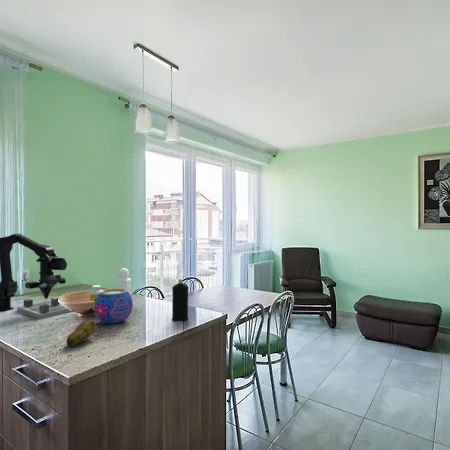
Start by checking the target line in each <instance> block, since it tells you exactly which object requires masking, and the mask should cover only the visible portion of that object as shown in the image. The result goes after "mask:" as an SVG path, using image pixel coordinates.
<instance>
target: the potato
mask: <svg viewBox="0 0 450 450" xmlns="http://www.w3.org/2000/svg"><path fill="white" fill-rule="evenodd" d="M96 328H97V323H96V322H95V321H94V320H93V319H92V320H91V319H85V320H83V321H82V322H81V323H80V324H79V325H77V326H76V328H75V329H73V331H72V332H71V333H70V334H69V335H68V336H67V338H66V345H67V346H68V347H71V348H72V347H75V346H77V345H79V344H80V343H83V342H84V341H86V340H87V339H88V337H90V336H91V335H92V334H94V333H95V332H96Z"/></svg>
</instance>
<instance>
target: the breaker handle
mask: <svg viewBox="0 0 450 450" xmlns="http://www.w3.org/2000/svg"><path fill="white" fill-rule="evenodd" d="M58 299H60V298H59V297H52V298H51V299H50V301H51V305H59V304H60V303H61V302H60V303H59V302H58Z"/></svg>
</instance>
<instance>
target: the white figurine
mask: <svg viewBox="0 0 450 450" xmlns="http://www.w3.org/2000/svg"><path fill="white" fill-rule="evenodd" d="M117 274H118V276H119V279H117V280H116V281H115V289H124V290H126V291H128V292H129V294H130V295H131V296H132V278H130V277H129V275H130V272H129V270H128V268H125V267H122V268H121V269H119V271H118V273H117Z"/></svg>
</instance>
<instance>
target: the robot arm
mask: <svg viewBox="0 0 450 450" xmlns="http://www.w3.org/2000/svg"><path fill="white" fill-rule="evenodd" d="M17 243H18V244H19V245H21V246H23V247H26V248H28V249H29V250H31V251H33V252H34V254H35V255H36V256H37V257H38V258H37V259H36V260H35V262H38V263H39V272H38V275H39V279H38V281H34V280H33V281H26V282H25V285H24V286H25V287H24V288H25V289H29V290H32V289H39V290H40V292H41V293H42V295H43V297H44V299H45V300H47V299H48V298H49V296H50V293H51V291H52V289H54V287H56V285H58V284H60V285H63V284H67V283H66V278H64V277H62V276H61V274H55V275H54V271H65V270H66V269H67V267H68V263H67V261H66V258H65V257H59V256H58V255H57V253H56V252H55V250H54V248H53V247H52V246H50V245H46V244H41V243H39V242H36V241H35V240H33V239H31V238H28V237H27V236H25V235H24V234H22V233H13V234H11V235H7V236H3V237H0V312H4V311H8V310H13V309H14V307H13V306H11V305H12V304H11V303H12V301H11V300H12V298H13V297H15V296H16V295H15V294H16V293H17V292H18V289H19V286H18V281H17V280H14V279H13V272H12V261H11V253H12V252H11V251H12V250H13V246H14V244H17Z"/></svg>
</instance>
